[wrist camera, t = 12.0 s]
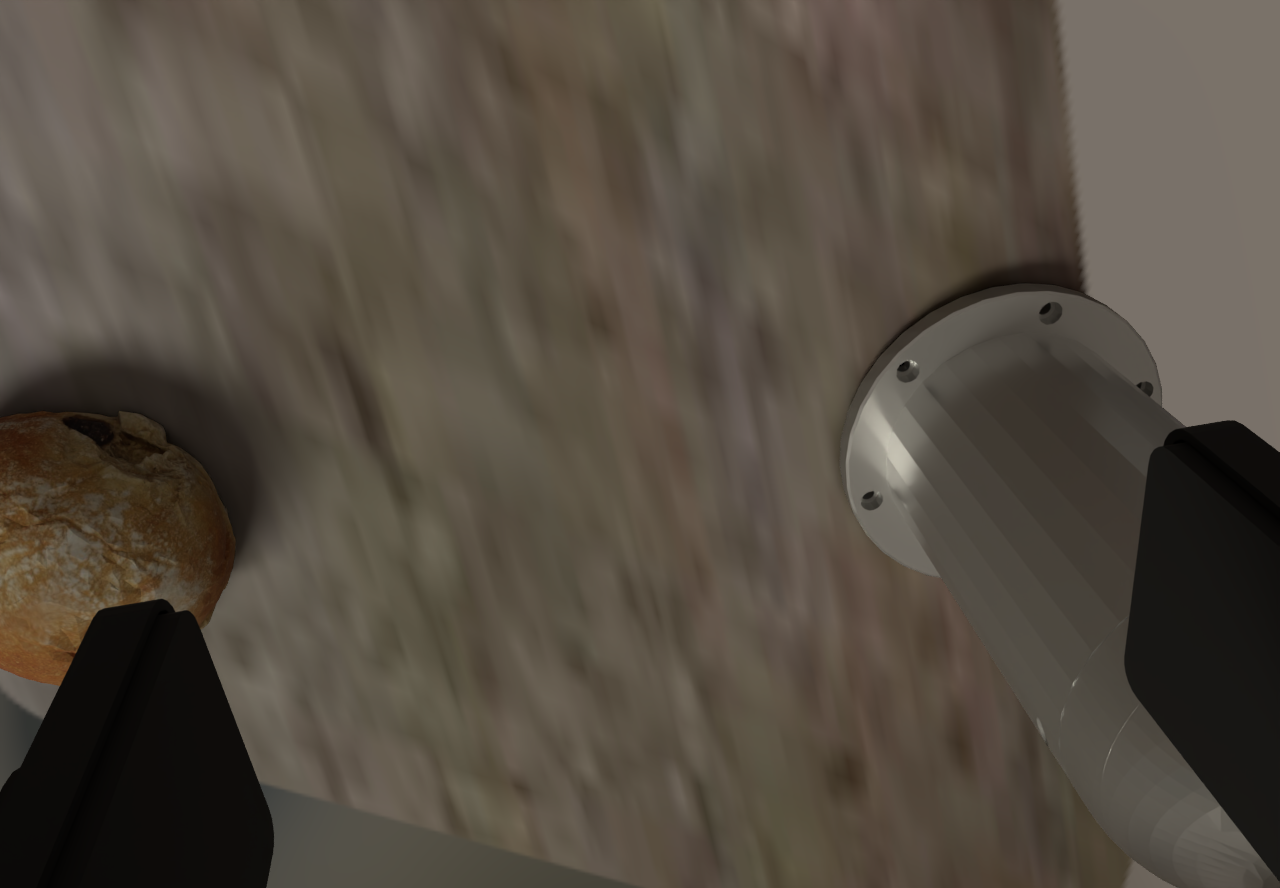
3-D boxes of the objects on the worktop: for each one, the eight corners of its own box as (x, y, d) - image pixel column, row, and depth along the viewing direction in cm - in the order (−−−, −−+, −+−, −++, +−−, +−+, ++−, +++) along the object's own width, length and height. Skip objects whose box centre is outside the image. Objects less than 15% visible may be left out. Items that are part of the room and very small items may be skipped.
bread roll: (264, 427, 44) (240, 436, 36) (220, 683, 44) (187, 748, 36) (-13, 382, 42) (-101, 382, 34) (-57, 653, 42) (-156, 715, 34)
